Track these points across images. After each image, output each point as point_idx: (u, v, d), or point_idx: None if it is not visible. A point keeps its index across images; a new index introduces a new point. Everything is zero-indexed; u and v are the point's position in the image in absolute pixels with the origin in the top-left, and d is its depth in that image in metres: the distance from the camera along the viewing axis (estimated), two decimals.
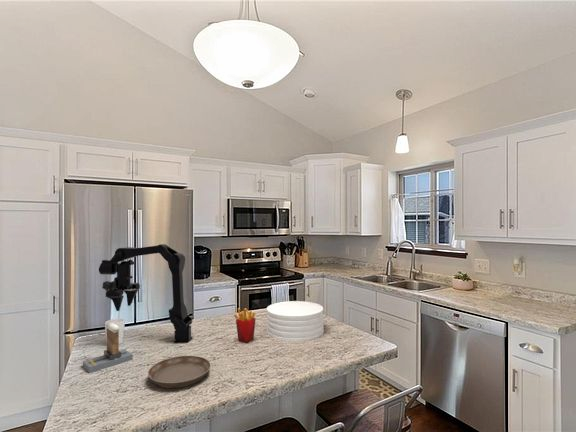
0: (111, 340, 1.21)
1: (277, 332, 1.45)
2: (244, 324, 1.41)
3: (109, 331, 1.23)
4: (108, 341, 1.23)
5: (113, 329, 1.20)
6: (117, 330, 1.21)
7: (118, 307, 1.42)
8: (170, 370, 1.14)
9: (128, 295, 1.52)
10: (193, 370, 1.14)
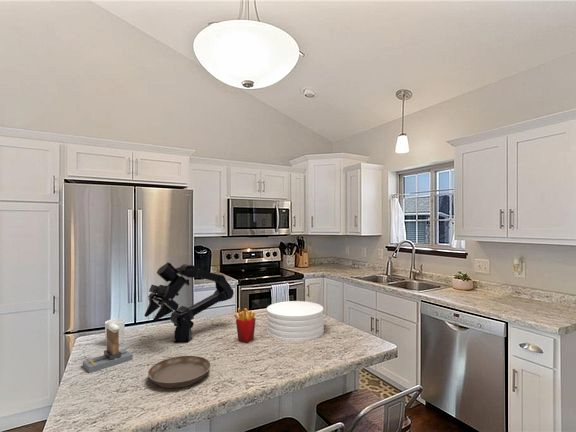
0: (111, 340, 1.21)
1: (277, 332, 1.45)
2: (244, 324, 1.41)
3: (109, 331, 1.23)
4: (108, 341, 1.23)
5: (113, 329, 1.20)
6: (117, 330, 1.21)
7: (158, 318, 1.32)
8: (170, 370, 1.14)
9: (152, 306, 1.40)
10: (193, 370, 1.14)
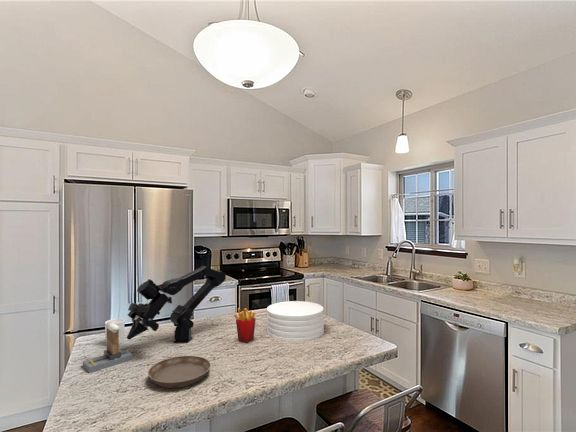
0: (111, 340, 1.21)
1: (277, 332, 1.45)
2: (244, 324, 1.41)
3: (109, 331, 1.23)
4: (108, 341, 1.23)
5: (113, 329, 1.20)
6: (117, 330, 1.21)
7: (132, 336, 1.28)
8: (170, 370, 1.14)
9: None
10: (193, 370, 1.14)
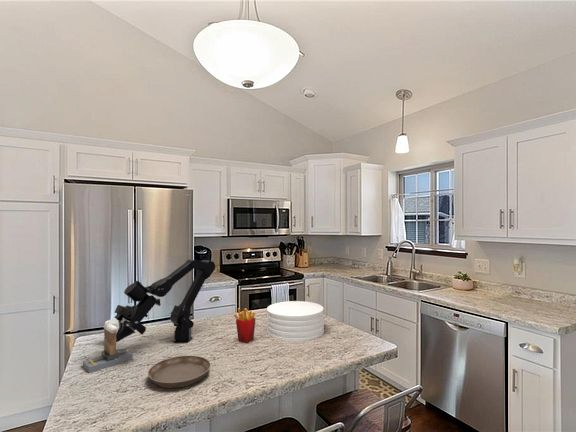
0: (109, 341, 1.21)
1: (277, 332, 1.45)
2: (244, 324, 1.41)
3: (107, 332, 1.22)
4: (106, 342, 1.23)
5: (111, 330, 1.20)
6: (115, 331, 1.21)
7: (119, 339, 1.24)
8: (170, 370, 1.14)
9: None
10: (193, 369, 1.14)
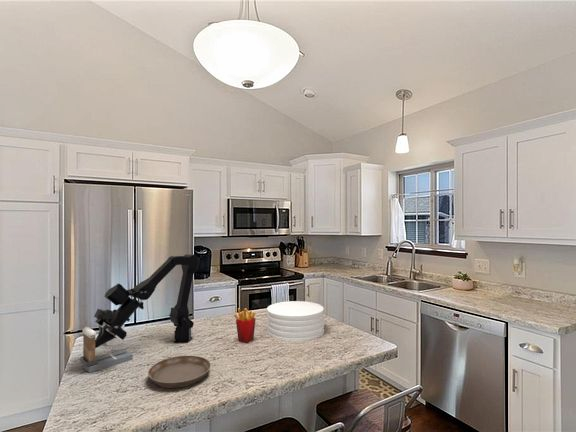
0: (87, 346, 1.15)
1: (277, 332, 1.45)
2: (244, 324, 1.41)
3: (85, 336, 1.17)
4: (85, 347, 1.18)
5: (89, 335, 1.15)
6: (94, 336, 1.16)
7: (98, 345, 1.19)
8: (170, 370, 1.14)
9: None
10: (193, 369, 1.14)
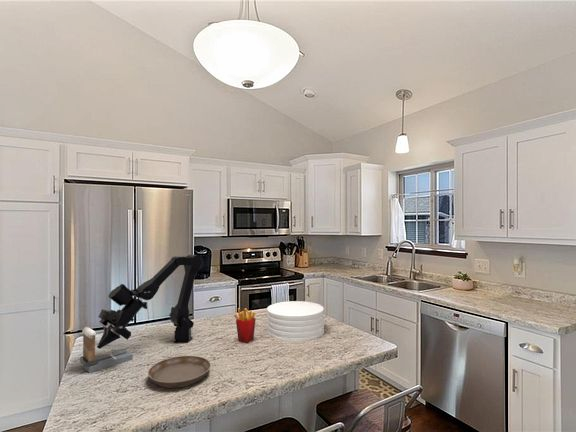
0: (87, 346, 1.15)
1: (277, 332, 1.45)
2: (244, 324, 1.41)
3: (85, 337, 1.17)
4: (84, 347, 1.18)
5: (89, 335, 1.15)
6: (93, 336, 1.16)
7: (103, 345, 1.20)
8: (170, 370, 1.14)
9: None
10: (193, 369, 1.14)
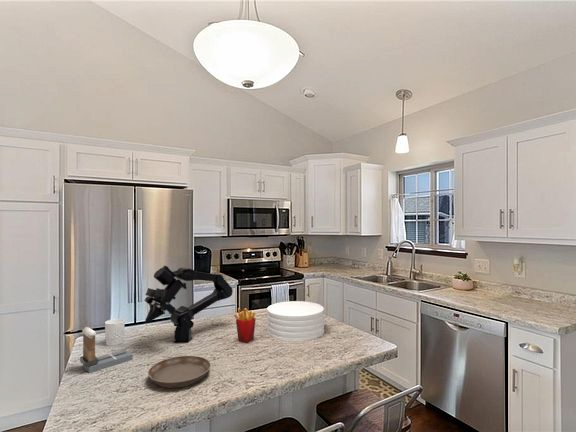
0: (87, 346, 1.15)
1: (277, 332, 1.45)
2: (244, 324, 1.41)
3: (85, 337, 1.17)
4: (84, 347, 1.18)
5: (89, 335, 1.15)
6: (93, 336, 1.16)
7: (150, 320, 1.33)
8: (170, 370, 1.14)
9: None
10: (193, 369, 1.14)
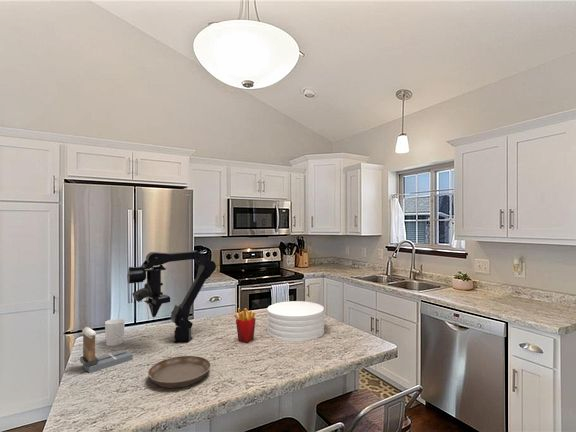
0: (87, 346, 1.15)
1: (278, 332, 1.45)
2: (244, 324, 1.41)
3: (85, 337, 1.17)
4: (84, 347, 1.18)
5: (89, 335, 1.15)
6: (93, 336, 1.16)
7: (156, 313, 1.38)
8: (169, 370, 1.14)
9: None
10: (193, 369, 1.14)
